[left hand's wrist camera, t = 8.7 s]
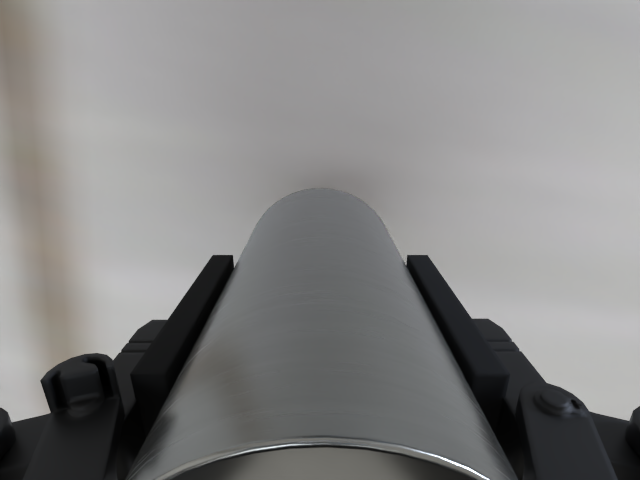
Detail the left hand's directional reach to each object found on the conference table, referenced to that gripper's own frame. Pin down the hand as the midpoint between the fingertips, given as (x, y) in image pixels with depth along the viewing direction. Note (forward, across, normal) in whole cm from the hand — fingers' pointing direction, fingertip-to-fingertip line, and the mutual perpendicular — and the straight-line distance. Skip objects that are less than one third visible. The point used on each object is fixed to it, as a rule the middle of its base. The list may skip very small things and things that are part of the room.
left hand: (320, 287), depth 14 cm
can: (+3, 0, 0) cm, 3 cm away
